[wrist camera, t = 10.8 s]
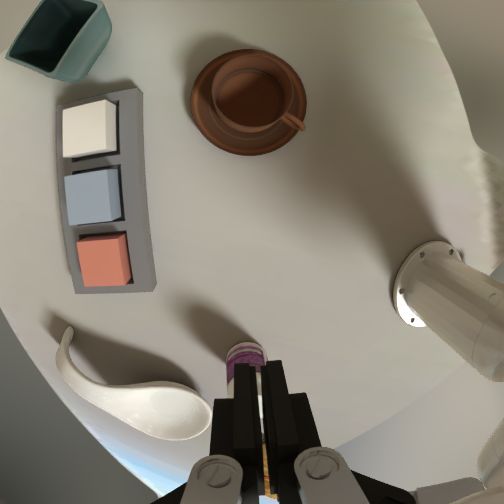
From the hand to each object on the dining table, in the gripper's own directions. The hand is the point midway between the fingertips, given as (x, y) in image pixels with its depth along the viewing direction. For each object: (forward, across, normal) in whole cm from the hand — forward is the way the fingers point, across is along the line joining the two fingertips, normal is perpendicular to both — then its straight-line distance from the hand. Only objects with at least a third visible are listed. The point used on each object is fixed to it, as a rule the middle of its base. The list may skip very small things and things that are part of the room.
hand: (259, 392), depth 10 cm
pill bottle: (+25, +1, +15) cm, 29 cm away
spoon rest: (+25, +17, +19) cm, 35 cm away
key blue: (+22, +15, -7) cm, 28 cm away
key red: (+23, +16, 0) cm, 28 cm away
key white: (+22, +15, -14) cm, 30 cm away
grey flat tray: (+24, +16, -7) cm, 29 cm away
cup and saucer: (+25, -1, -15) cm, 29 cm away
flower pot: (+24, +18, -25) cm, 39 cm away
